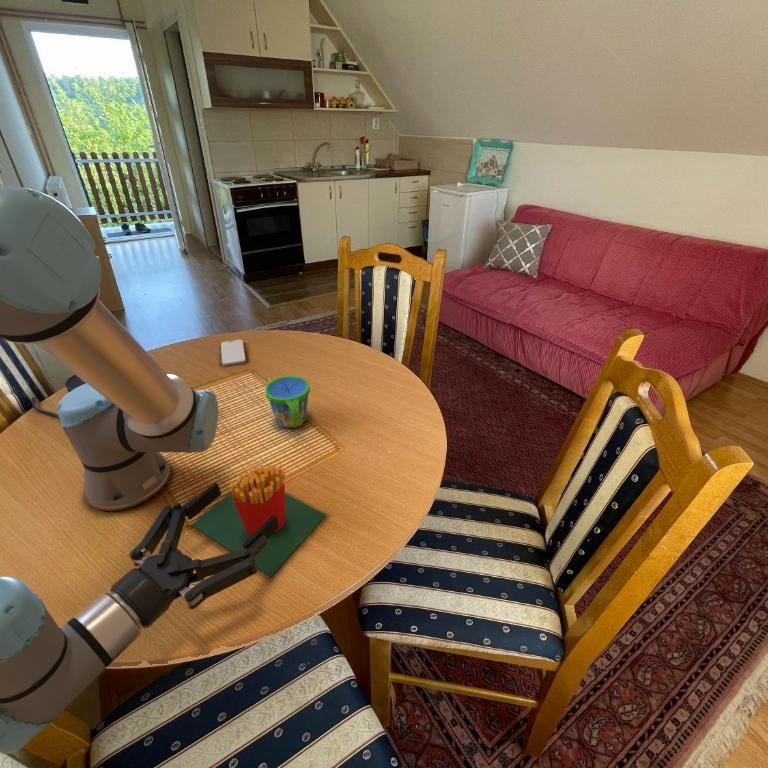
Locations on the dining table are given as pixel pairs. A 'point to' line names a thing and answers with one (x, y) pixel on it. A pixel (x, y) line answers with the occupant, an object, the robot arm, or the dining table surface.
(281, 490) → the french fries
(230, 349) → the smartphone
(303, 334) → the dining table surface
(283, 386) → the snack cup
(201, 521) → the green cloth
